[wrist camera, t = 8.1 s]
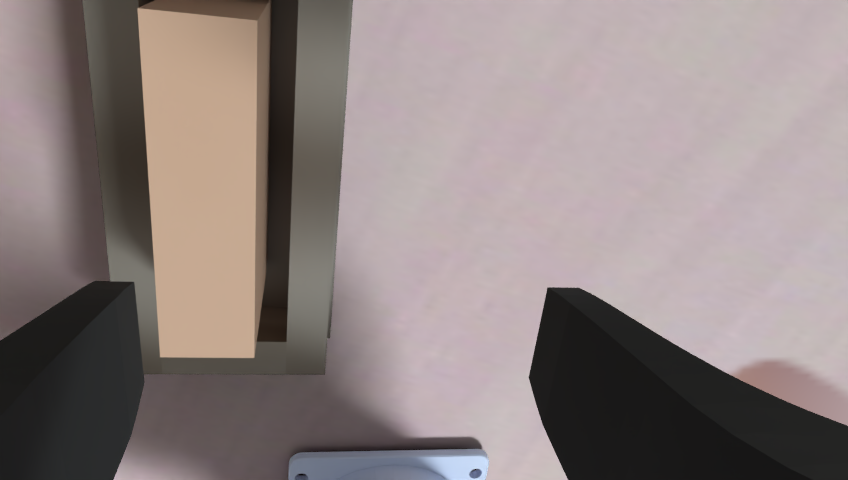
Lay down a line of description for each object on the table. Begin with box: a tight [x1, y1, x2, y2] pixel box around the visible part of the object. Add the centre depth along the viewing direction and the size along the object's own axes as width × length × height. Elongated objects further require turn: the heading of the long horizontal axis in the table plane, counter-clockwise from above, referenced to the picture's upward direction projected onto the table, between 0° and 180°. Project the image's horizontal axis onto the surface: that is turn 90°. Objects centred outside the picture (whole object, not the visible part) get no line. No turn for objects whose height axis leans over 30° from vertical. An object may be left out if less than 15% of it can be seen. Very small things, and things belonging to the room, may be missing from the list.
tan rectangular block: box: [137, 0, 272, 358], centre depth 16 cm, size 8×2×5 cm, turn 173°
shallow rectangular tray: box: [82, 0, 353, 375], centre depth 18 cm, size 12×6×3 cm, turn 173°
